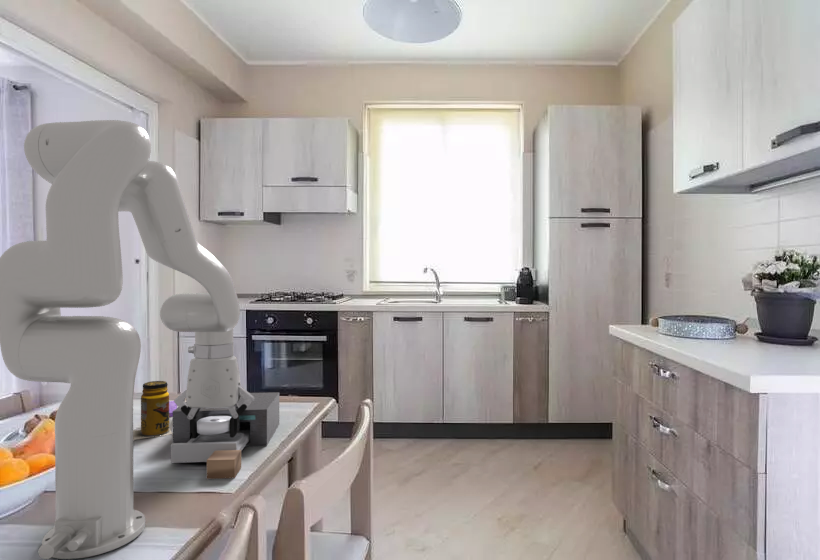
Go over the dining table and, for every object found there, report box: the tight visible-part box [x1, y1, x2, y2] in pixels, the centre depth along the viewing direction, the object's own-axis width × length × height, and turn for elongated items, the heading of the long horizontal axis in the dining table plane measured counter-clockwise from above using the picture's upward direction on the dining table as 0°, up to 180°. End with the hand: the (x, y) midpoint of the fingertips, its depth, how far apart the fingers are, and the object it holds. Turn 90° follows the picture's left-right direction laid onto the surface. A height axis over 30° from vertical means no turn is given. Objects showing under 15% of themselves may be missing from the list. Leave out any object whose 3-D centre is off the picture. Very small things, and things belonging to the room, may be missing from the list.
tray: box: [170, 430, 250, 464], centre depth 107 cm, size 16×12×4 cm
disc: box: [197, 415, 231, 435], centre depth 106 cm, size 7×7×2 cm
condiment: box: [133, 380, 173, 441], centre depth 119 cm, size 7×8×12 cm
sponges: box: [169, 400, 178, 418], centre depth 138 cm, size 7×13×2 cm, turn 23°
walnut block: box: [206, 450, 242, 480], centre depth 96 cm, size 5×5×4 cm
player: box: [172, 392, 280, 447], centre depth 118 cm, size 16×20×8 cm
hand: (214, 435), depth 106 cm, fingers closed on disc, 7 cm apart
